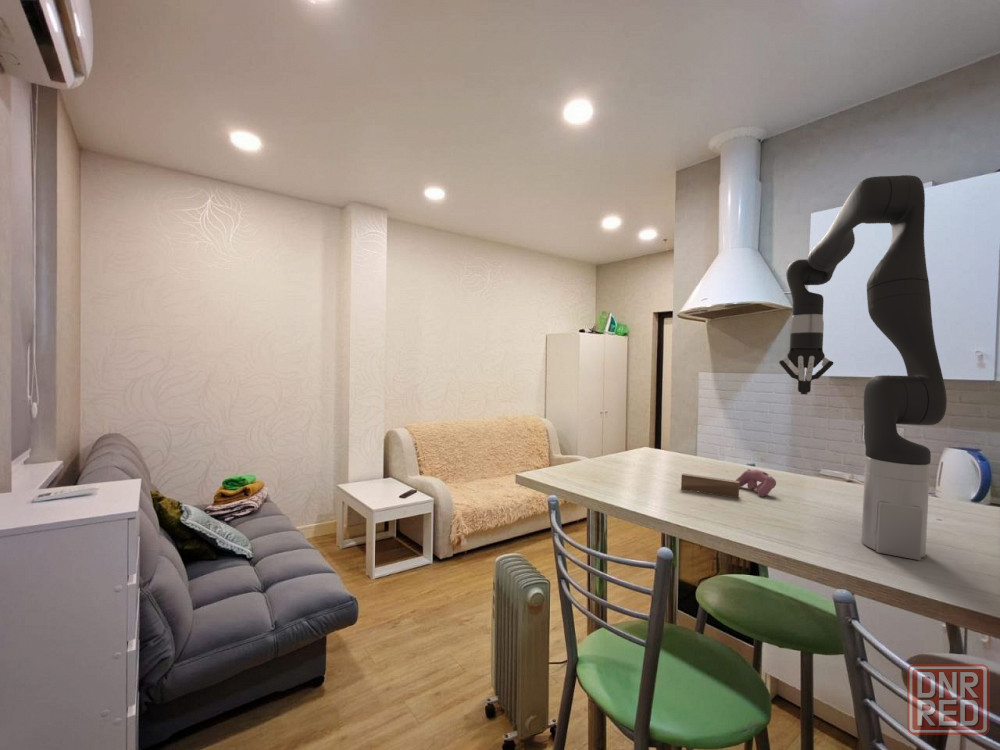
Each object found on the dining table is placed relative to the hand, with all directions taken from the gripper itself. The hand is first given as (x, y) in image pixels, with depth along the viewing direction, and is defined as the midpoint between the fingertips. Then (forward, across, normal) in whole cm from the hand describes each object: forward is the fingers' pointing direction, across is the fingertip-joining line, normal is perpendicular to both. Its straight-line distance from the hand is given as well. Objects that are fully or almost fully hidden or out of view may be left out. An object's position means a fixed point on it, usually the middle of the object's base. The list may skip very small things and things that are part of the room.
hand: (804, 394), depth 123 cm
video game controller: (+27, -11, -9) cm, 31 cm away
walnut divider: (+27, -22, -18) cm, 39 cm away
